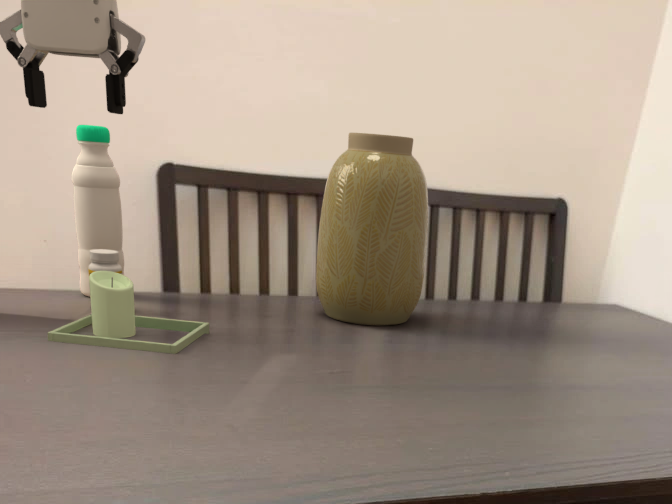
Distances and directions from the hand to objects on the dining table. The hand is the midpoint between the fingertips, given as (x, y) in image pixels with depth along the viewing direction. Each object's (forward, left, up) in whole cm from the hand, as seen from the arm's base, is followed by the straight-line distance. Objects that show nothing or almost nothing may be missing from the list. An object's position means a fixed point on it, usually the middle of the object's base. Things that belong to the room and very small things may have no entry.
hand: (76, 110), depth 88 cm
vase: (+35, +25, -26) cm, 50 cm away
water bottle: (-8, +22, -26) cm, 36 cm away
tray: (+9, -8, -26) cm, 29 cm away
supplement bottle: (-3, +12, -26) cm, 29 cm away
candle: (+7, -8, -26) cm, 28 cm away
